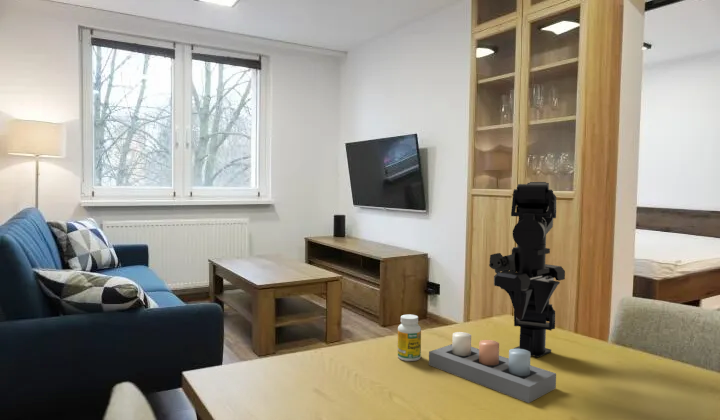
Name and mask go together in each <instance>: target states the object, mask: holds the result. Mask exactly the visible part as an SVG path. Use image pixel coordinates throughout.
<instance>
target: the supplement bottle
mask: <svg viewBox="0 0 720 420" xmlns="http://www.w3.org/2000/svg"><path fill="white" fill-rule="evenodd" d="M418 323H419V316H418V315H416V314H410V313H409V314H403V315H401V316H400V324H399V325H398V327H397V357H398V359H399V360H401V361H405V362H416V361H418V360H420V359H421V357H422V354H421V353H422V327H421V326H420V325H419V324H418Z"/></svg>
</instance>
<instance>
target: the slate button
mask: <svg viewBox="0 0 720 420" xmlns="http://www.w3.org/2000/svg"><path fill="white" fill-rule="evenodd" d="M508 358H509V372H510V373H511V374H514V375H518V376H527V375H529V374H530V365H531V353H530V352H529V351H527V350H524V349H514V348H510V349H509V351H508Z"/></svg>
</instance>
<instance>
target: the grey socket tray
mask: <svg viewBox="0 0 720 420" xmlns="http://www.w3.org/2000/svg"><path fill="white" fill-rule="evenodd" d="M428 366H430V367H433V368H435V369H438V370H441V371H444V372H447V373H449V374H452V375H454V376H457V377H459V378H462V379H464V380H466V381H467V380H468V381H469V382H473V383H475V384H478V385H480V386H484V387H486V388H489V389H490V390H494V391H496V392H499V393H501V394H504V395H506V396H508V397H512V398H514V399H517V400H520V401H523V402H524V403H528V404H530V403H532V402H533V401H535V400H537V399H539V398H541V397H543V396H544V395H546V394H548V393H550V392H552V391H554V390H555V389H556V388H557V387H556V386H557V385H556V384H557V372H553V371H550V370H547V369H543V368H540V367H537V366H533V365H531V364H530V374H529V375H527V376H518V375H514V374H511V373H510V372H509V357H506V356H502V355H499V364H497V365H485V364H482V363H480V362H479V348H476V347H473V346H471V354H470V355H468V356H459V355H455V354H453V353H452V343H451V344H449V345H446V346H445V345H444V346H442V347H439V348H436V349H434V350H430V351H428Z"/></svg>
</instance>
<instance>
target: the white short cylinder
mask: <svg viewBox="0 0 720 420" xmlns="http://www.w3.org/2000/svg"><path fill="white" fill-rule="evenodd" d="M451 341H452V343H451V344H452V353H453V354H455V355H459V356H468V355H470V354H471V347H472V334H470V333H469V332H466V331H465V332H462V331H456V332H453V333H452V340H451Z"/></svg>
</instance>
